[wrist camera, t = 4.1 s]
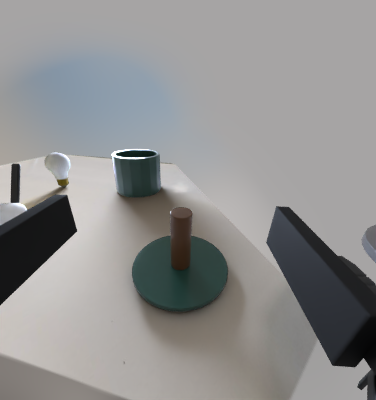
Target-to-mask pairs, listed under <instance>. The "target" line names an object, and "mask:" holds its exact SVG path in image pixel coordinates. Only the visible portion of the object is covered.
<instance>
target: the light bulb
mask: <svg viewBox="0 0 376 400" xmlns="http://www.w3.org/2000/svg"><path fill="white" fill-rule="evenodd" d="M45 166H46V168H47V169H48V170H49V171H50V172H51V173H52V174H53V175H54V176H55V178H56V179H57V182H58V185H60V186H62V187H66V186H67V185H68V184H69V182H68V171H69V168H70V161H69V159H68V158H67V157H66V156H65V155H63V154H61V153H51V154H49V155H48V156H47V157H46V158H45Z"/></svg>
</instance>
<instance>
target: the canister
mask: <svg viewBox="0 0 376 400" xmlns="http://www.w3.org/2000/svg"><path fill="white" fill-rule="evenodd" d="M112 161H113V168H114V174H115V181H116V187H117V191H118V193H119V194H121V195H123V196H126V197H145V196H150V195H153V194H155V193H157V192H159V191H160V189H161V181H160V156H159V152H156V151H152V150H143V149H140V150H139V149H133V150H122V151H118V152H114V153H113V154H112Z"/></svg>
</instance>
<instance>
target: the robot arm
mask: <svg viewBox="0 0 376 400" xmlns="http://www.w3.org/2000/svg"><path fill="white" fill-rule="evenodd" d="M76 232H77V229H76V225H75V222H74V218H73V214H72V211H71V207H70V204H69V200H68V197H67V195H54V196H52V197H50V198H48V199H46V200H45V201H43V202H41V203H39V204H38V205H36V206H34V207H32V208H30V209H29V210H27V211H25V212H23V213H21V214H20V215H18V216H16V217H14V218H13V219H11V220H9V221H7V222H5V223H4V224H2V225H0V305H1V304H2V303H3V302H4V301H5V300H6V299H7V298H8V297H9V296H10V295H11V294H12V293H13V292H14V291H16V290H17V289H18V288H19V287H20V286H21V285H22V284H23V283H24V282H25V281H26V280H27V279H28V278H29V277H30V276H31V275H32V274H33V273H34V272H35V271H36V270H37V269H38V268H39V267H40V266H41V265H42V264H43V263H45V262H46V261H47V260H48V259H49V258H50V257H51V256H52V255H53V254H54V253H55V252H56V251H57V250H58V249H59V248H60V247H61V246H62V245H63V244H64V243H65V242H66V241H67V240H68V239H69V238H70V237H71V236H73V235H74V234H75V233H76ZM266 243H267V245H268V246H269V248H270V250H271V252H272V254H273V256H274V257H275V259H276V261H277V263H278V265H279V267H280V269H281V270H282V272H283V274H284V276H285V278H286V280H287V282H288V284H289V285H290V287H291V289H292V291H293V293H294V295H295V297H296V298H297V300H298V302H299V304H300V306H301V308H302V310H303V311H304V313H305V315H306V317H307V319H308V321H309V323H310V324H311V326H312V328H313V330H314V332H315V334H316V336H317V338H318V339H319V341H320V343H321V345H322V347H323V349H324V350H325V352H326V354H327V356H328V358H329V360H330V362H331V364H332V365H333V366H345V367H356V366H357V365H358V364H359V362H360V361H361V360H362V359H363V358H364V359H365V360H366V362H367V363H368V365H369V366H370V368H371V370H370V371H369V372H368V373H367V374H366V375H365V377H363V378H362V379H361V381H360V382H359V384H358V388H359V389H361V390H362V389H363V388H364V387H365V386H366V385H368V388H367V391H368V392H367V395H368V396H367V400H376V285H375V283H374V282H373V281H372V280H371V279H369V277H366V275H365V274H364V273H363V272H362V271H361V270H360V269H359V268H358V267H357V266H356V265H355V264H353V263H351V262H350V261H349V260H347V259H345V258H344V257H342V256H337V255H336V254H335V253H334V252H333V251H332V250H331V249H330V248H329V247H328V246H327V245H326V244H325V243H324V242H323V241H322V240H321V239H320V238H319V237H318V236H317V235H316V234H315V233H314V232H313V231H312V230H311V229H310V228H309V227H308V226H307V225H306V224H305V223H304V222H303V221H302V220H301V219H300V218H299V217H298V216H297V215H296V214H295V213H294V212H293V211H292V210H291V209H290V208H289V207H276V210H275V214H274V217H273V220H272V224H271V228H270V231H269V235H268V238H267V242H266Z"/></svg>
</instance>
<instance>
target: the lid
mask: <svg viewBox="0 0 376 400" xmlns="http://www.w3.org/2000/svg"><path fill="white" fill-rule="evenodd" d="M170 234H171V236H166V237H162V238H160V239H157V240H155V241H153V242H151V243H150V244H148V245H147V246H145V247H144V248H143V249H142V250H141V251H140V252H139V254H138V255H137V257H136V258H135V261H134V263H133V268H132V277H133V282H134V285H135V288H136V290H137V291H138V293H139V294H140V295H141V297H143V298H144V299H145V300H146V301H147V302H149V303H150V304H152V305H154V306H156V307H158V308H161V309H164V310H168V311H177V312H183V311H191V310H195V309H198V308H201V307H203V306H205V305H207V304H209V303H210V302H212V301H213V300H215V299H216V298H217V297H218V296H219V294H220V293H221V292H222V290H223V288H224V286H225V284H226V281H227V275H228V268H227V263H226V260H225V258H224V256H223V255H222V253H221V252H220V251H219V250H218V249H217V248H216V247H215V246H214V245H213V244H211V243H209V242H208V241H206V240H204V239H201V238H198V237H195V236H191V234H192V211H191V210H190V209H188V208H184V207H179V208H174V209H173V210H171V212H170Z"/></svg>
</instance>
